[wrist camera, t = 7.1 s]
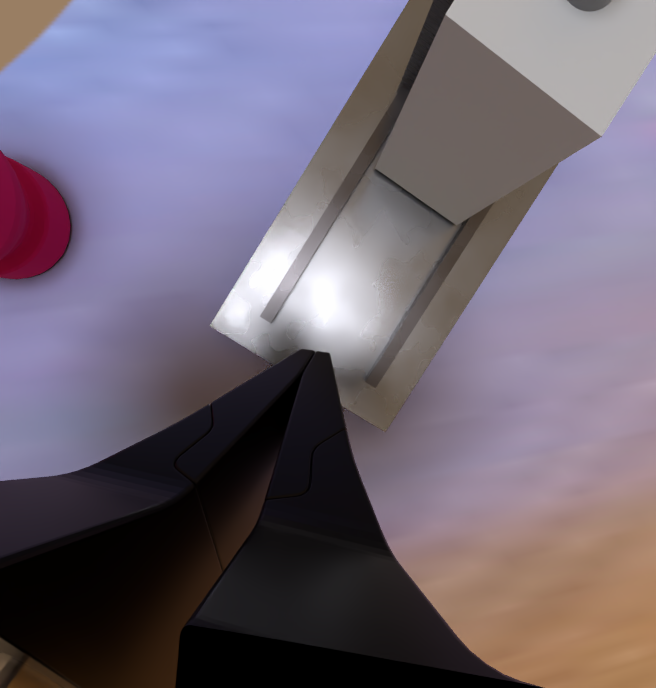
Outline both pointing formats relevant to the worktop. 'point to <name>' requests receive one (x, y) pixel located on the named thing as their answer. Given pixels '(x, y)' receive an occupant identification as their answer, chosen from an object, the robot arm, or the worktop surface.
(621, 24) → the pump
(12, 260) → the pepper mill
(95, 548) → the robot arm
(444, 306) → the base
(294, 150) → the worktop surface
